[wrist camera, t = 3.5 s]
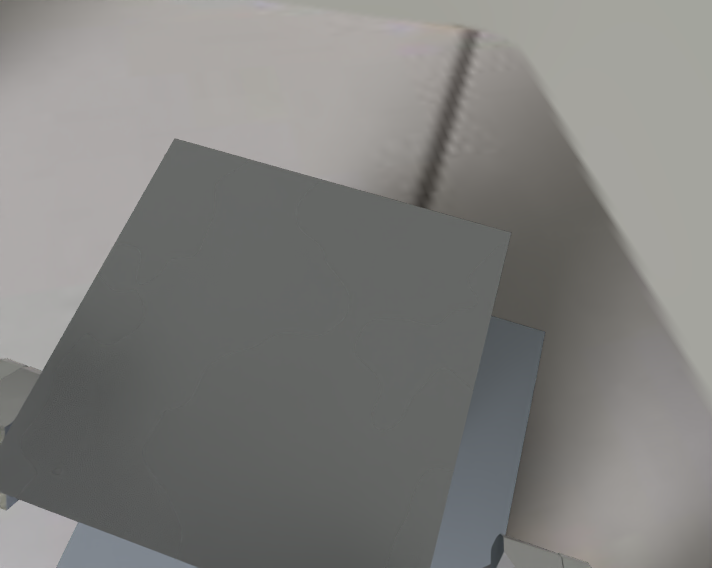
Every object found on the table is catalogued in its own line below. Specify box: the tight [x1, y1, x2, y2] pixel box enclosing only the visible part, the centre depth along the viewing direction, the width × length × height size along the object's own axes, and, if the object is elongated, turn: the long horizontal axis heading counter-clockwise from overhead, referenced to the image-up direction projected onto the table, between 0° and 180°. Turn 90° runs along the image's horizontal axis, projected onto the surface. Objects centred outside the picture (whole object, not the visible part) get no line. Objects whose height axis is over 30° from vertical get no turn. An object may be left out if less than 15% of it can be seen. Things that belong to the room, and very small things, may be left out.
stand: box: [56, 316, 545, 568], centre depth 20 cm, size 13×13×9 cm
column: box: [0, 139, 511, 568], centre depth 15 cm, size 5×5×18 cm
